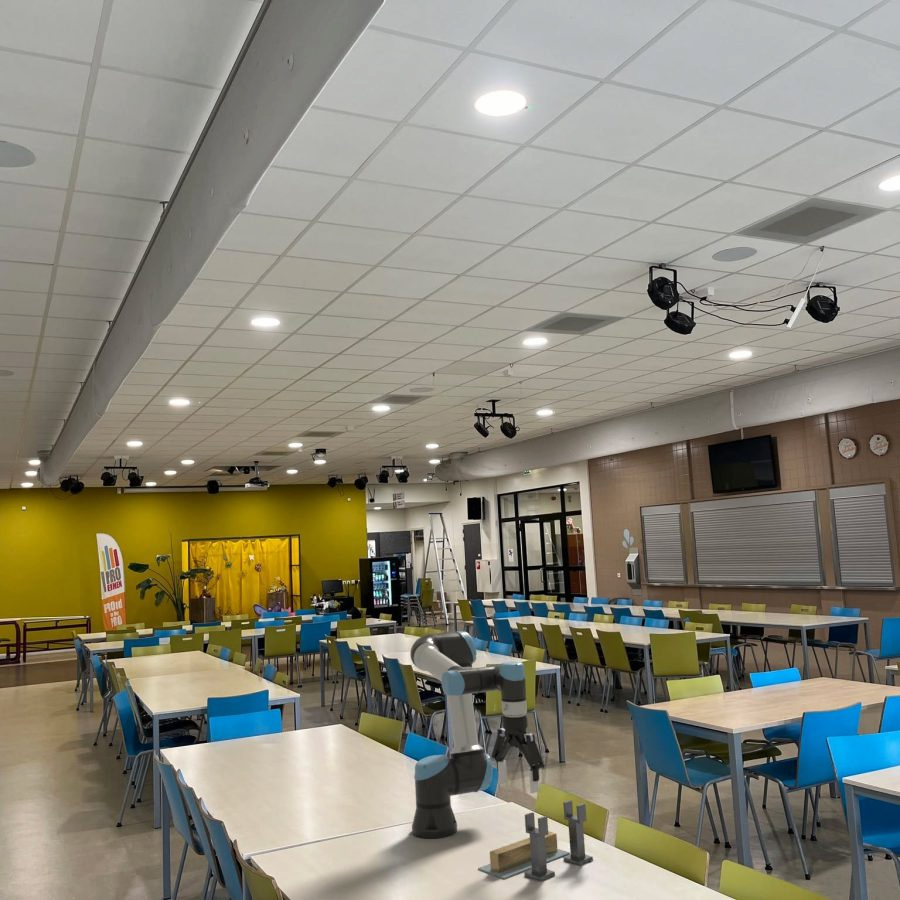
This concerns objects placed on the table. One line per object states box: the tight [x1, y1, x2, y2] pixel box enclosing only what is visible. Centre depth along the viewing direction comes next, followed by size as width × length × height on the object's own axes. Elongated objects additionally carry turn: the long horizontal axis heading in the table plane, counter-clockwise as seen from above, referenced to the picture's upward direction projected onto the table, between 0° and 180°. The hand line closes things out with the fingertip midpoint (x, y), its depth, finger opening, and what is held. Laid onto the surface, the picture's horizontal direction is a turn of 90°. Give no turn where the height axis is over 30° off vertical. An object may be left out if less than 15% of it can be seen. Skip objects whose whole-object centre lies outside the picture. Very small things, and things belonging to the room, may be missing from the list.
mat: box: [477, 848, 571, 880], centre depth 240 cm, size 11×27×1 cm, turn 129°
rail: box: [489, 830, 559, 873], centre depth 240 cm, size 4×24×5 cm, turn 129°
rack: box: [523, 799, 594, 883], centre depth 234 cm, size 6×22×16 cm, turn 129°
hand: (518, 787), depth 245 cm, fingers open, 13 cm apart
